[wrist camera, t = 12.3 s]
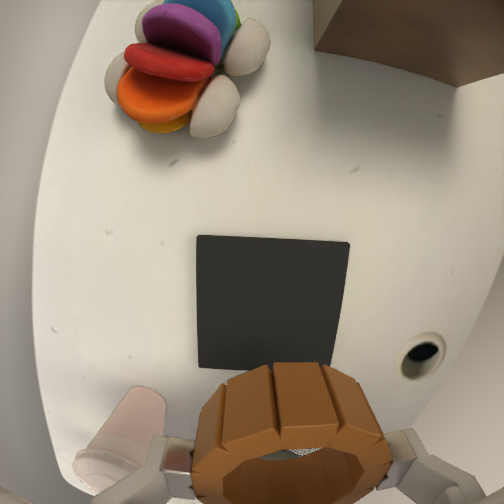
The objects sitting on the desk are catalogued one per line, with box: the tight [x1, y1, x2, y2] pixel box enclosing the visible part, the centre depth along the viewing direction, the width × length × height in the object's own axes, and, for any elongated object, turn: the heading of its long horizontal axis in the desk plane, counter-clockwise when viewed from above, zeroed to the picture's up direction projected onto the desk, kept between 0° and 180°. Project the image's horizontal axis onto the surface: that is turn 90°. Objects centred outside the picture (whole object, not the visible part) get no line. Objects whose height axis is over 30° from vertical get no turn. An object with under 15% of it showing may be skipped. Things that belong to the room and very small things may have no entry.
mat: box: [196, 235, 350, 371], centre depth 21 cm, size 10×10×1 cm
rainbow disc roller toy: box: [105, 0, 271, 138], centre depth 14 cm, size 8×10×7 cm
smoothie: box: [72, 387, 166, 494], centre depth 17 cm, size 6×6×14 cm
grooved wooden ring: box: [191, 362, 393, 504], centre depth 9 cm, size 6×6×3 cm
